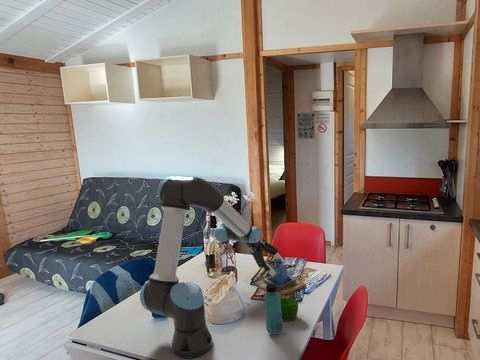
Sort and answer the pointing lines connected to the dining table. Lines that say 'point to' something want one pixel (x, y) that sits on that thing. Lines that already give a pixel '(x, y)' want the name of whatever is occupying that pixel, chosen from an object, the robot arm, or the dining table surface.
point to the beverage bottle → (273, 310)
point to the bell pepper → (289, 308)
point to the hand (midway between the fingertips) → (279, 269)
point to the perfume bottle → (279, 273)
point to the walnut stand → (281, 285)
